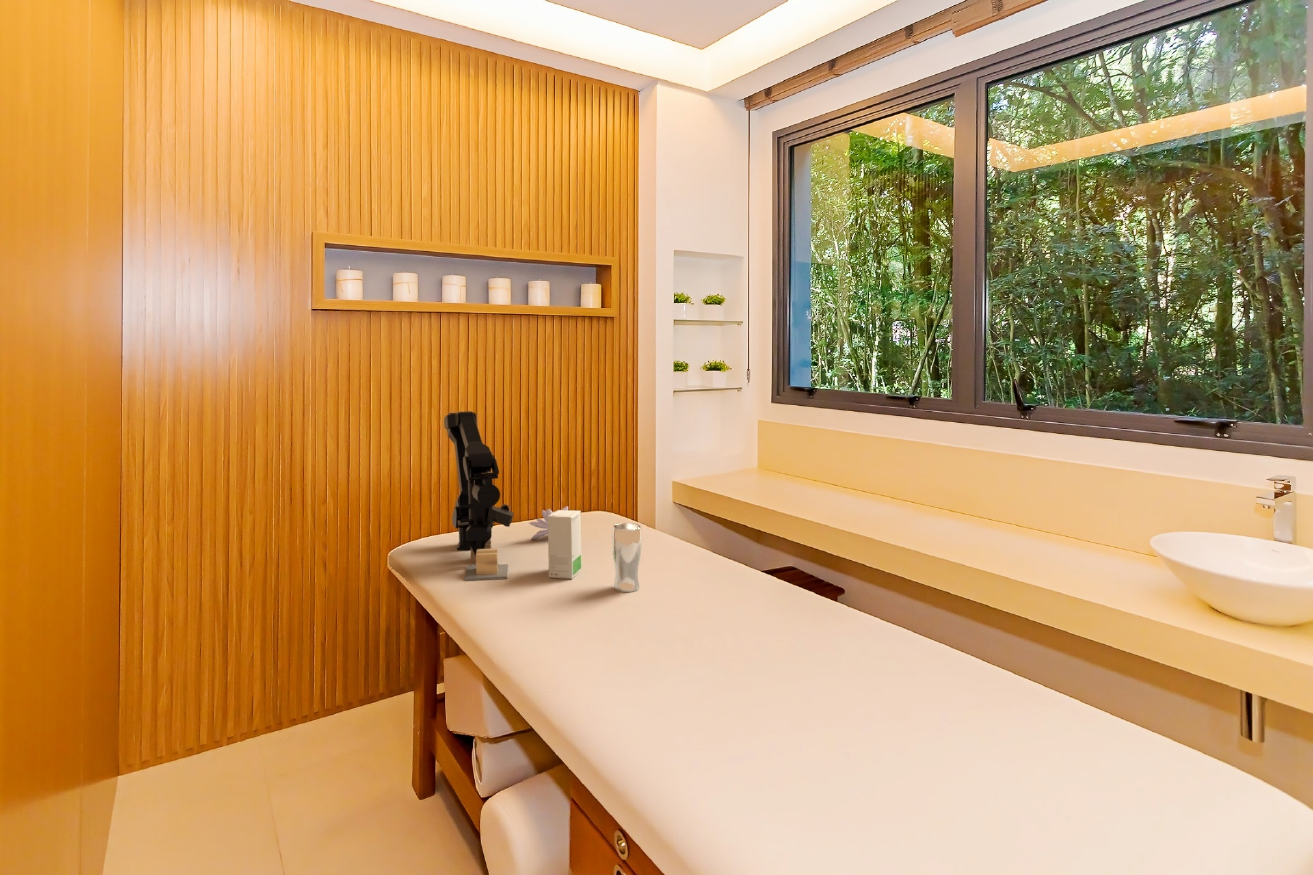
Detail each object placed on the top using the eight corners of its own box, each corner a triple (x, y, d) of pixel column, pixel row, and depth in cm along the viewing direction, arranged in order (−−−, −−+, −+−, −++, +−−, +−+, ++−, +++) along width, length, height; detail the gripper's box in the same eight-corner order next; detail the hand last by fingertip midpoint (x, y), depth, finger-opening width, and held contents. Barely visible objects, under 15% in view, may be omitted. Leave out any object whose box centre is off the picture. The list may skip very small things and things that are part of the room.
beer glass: (611, 583, 175) (611, 522, 173) (640, 582, 175) (640, 522, 173) (612, 593, 168) (612, 530, 166) (642, 592, 169) (642, 529, 167)
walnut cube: (472, 558, 194) (471, 540, 193) (491, 557, 195) (491, 539, 194) (471, 564, 189) (470, 545, 188) (490, 563, 190) (490, 544, 189)
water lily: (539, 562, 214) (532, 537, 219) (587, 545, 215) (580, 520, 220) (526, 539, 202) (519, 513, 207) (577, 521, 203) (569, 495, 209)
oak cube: (477, 568, 183) (477, 549, 183) (497, 567, 184) (497, 548, 184) (476, 574, 178) (475, 554, 178) (497, 573, 179) (496, 553, 179)
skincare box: (572, 579, 177) (571, 517, 175) (546, 577, 178) (545, 516, 176) (582, 569, 185) (582, 509, 183) (557, 567, 186) (557, 508, 184)
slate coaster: (468, 568, 185) (467, 565, 185) (507, 566, 187) (507, 564, 187) (464, 580, 176) (464, 578, 176) (507, 578, 177) (506, 576, 177)
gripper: (510, 505, 182) (511, 565, 184) (511, 490, 200) (512, 545, 202) (465, 507, 180) (466, 567, 182) (470, 491, 198) (471, 547, 200)
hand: (481, 556), depth 192 cm, fingers open, 8 cm apart
